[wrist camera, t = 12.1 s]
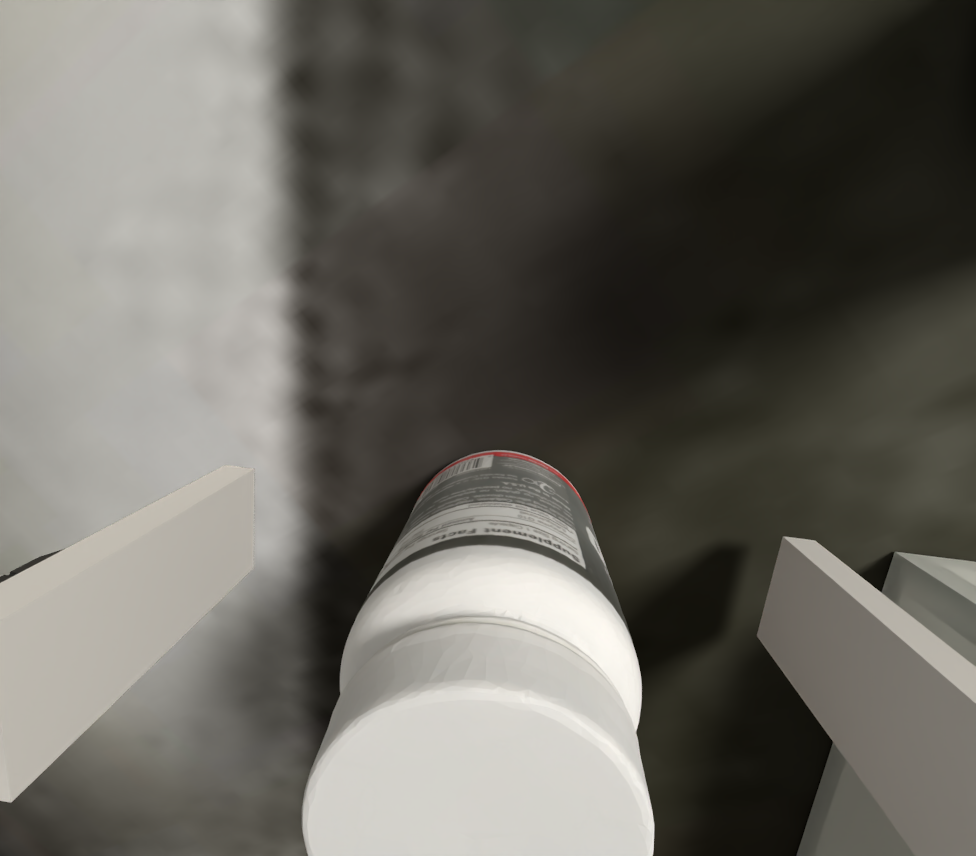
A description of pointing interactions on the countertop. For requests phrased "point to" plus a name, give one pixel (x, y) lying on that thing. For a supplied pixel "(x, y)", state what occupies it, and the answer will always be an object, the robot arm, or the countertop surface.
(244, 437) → the countertop surface
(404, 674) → the pill bottle
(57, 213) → the countertop surface
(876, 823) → the tote
